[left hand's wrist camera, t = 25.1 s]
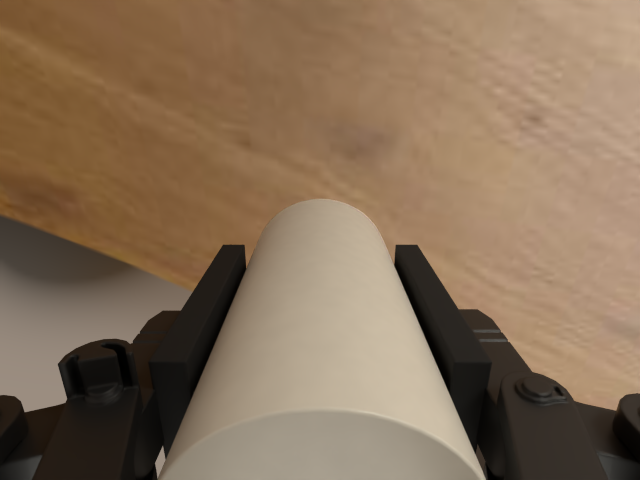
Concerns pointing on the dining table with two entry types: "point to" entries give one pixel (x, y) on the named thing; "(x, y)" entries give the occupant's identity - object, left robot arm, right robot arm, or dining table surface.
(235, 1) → the dining table surface
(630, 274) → the dining table surface
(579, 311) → the dining table surface
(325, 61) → the dining table surface
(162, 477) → the canister
